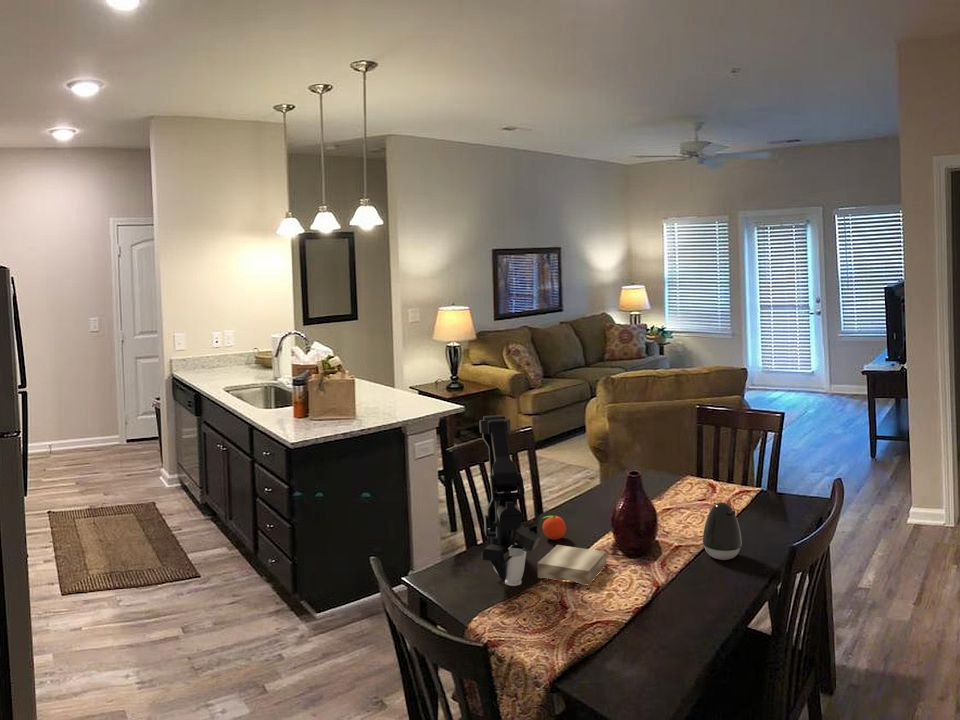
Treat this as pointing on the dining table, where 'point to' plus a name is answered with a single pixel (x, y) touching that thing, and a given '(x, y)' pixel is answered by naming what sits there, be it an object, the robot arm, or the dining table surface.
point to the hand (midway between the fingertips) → (508, 575)
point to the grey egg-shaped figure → (722, 532)
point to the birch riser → (571, 564)
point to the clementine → (554, 527)
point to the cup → (515, 567)
